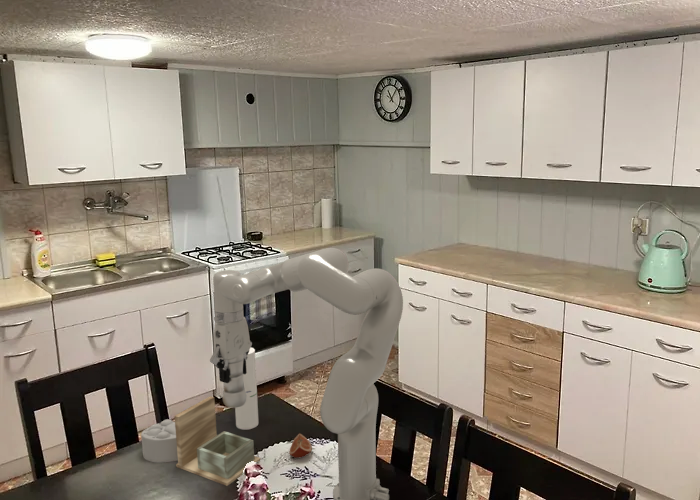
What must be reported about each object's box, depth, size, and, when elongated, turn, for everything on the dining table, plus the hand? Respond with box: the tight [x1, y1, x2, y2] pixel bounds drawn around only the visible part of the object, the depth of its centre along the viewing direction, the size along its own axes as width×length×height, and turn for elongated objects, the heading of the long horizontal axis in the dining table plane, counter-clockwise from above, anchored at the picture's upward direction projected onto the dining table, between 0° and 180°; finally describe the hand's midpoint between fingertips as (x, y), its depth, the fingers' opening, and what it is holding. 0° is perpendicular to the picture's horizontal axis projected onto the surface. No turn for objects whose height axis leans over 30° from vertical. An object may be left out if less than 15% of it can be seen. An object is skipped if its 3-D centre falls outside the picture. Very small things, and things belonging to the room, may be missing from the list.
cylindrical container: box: [234, 347, 259, 430], centre depth 183 cm, size 7×7×25 cm
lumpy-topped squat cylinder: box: [140, 418, 178, 463], centre depth 169 cm, size 10×13×9 cm
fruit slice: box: [288, 432, 313, 459], centre depth 167 cm, size 8×7×5 cm
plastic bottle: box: [222, 354, 247, 409], centre depth 160 cm, size 6×7×20 cm
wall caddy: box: [173, 395, 261, 487], centre depth 162 cm, size 19×14×16 cm
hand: (233, 376), depth 160 cm, fingers closed on plastic bottle, 6 cm apart
